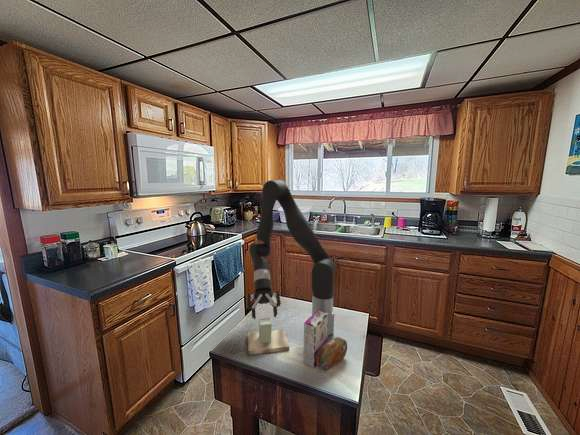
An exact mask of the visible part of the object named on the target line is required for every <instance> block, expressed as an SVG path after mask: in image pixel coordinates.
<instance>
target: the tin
mask: <svg viewBox="0 0 580 435" xmlns="http://www.w3.org/2000/svg"><path fill="white" fill-rule="evenodd" d="M347 350H348V342H347V341H346V339H344V338H341V337H335V338H333V339H331V340H329V341H327V343H326V344H325V345H323V346H322V347H321V348H320V349H319V351H318V353H317V357H316V363H317V366H316V367H318V368H319V369H321V370H322V371H324V372H327V371H329V370H330V369H332V368H334V367H335V366H336V365H337V364H339V363H340V362H342V361H343V360H344V358H345V357H346V355H347Z"/></svg>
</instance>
